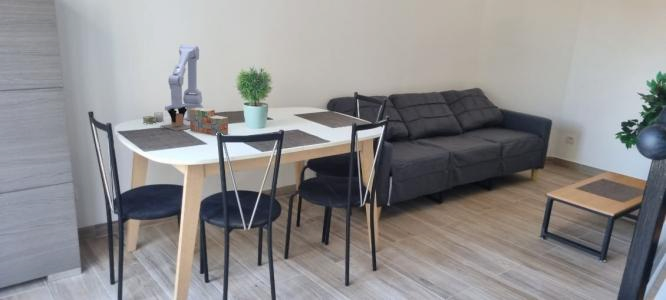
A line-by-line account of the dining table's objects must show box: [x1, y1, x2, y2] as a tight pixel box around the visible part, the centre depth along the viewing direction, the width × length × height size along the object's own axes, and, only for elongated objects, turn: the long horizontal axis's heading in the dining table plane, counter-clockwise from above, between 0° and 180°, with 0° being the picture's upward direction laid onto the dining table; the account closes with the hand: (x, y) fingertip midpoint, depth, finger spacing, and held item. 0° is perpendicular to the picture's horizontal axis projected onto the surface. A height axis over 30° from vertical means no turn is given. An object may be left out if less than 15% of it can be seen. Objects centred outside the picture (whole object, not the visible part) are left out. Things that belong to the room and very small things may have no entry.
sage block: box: [142, 115, 157, 125], centre depth 274 cm, size 5×5×4 cm
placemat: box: [160, 123, 190, 132], centre depth 267 cm, size 12×16×1 cm
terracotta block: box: [170, 112, 184, 126], centre depth 266 cm, size 4×4×6 cm
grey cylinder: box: [153, 111, 165, 123], centre depth 280 cm, size 5×5×5 cm
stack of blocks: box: [189, 107, 229, 136], centre depth 255 cm, size 21×6×12 cm, turn 61°
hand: (177, 121), depth 266 cm, fingers closed on terracotta block, 4 cm apart
